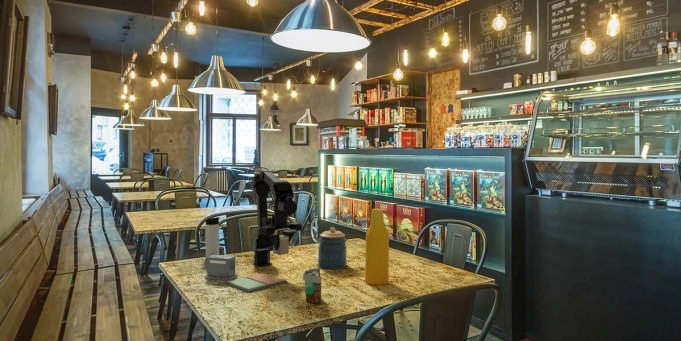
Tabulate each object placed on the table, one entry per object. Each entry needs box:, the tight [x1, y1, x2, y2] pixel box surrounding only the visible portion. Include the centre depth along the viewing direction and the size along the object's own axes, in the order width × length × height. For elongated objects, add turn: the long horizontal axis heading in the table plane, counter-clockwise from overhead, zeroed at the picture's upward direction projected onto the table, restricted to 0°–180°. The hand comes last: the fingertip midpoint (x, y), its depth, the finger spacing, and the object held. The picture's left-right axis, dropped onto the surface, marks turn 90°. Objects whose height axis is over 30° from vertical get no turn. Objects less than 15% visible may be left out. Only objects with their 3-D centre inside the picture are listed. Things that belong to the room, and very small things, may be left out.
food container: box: [302, 267, 322, 306], centre depth 161 cm, size 12×6×10 cm, turn 5°
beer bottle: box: [364, 208, 390, 286], centre depth 184 cm, size 9×9×29 cm
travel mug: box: [205, 216, 220, 260], centre depth 223 cm, size 6×7×20 cm
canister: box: [317, 226, 348, 270], centre depth 210 cm, size 13×13×18 cm
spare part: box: [272, 234, 290, 256], centre depth 191 cm, size 5×5×7 cm
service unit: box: [204, 254, 239, 281], centre depth 190 cm, size 7×11×8 cm, turn 76°
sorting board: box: [224, 272, 288, 293], centre depth 182 cm, size 18×16×1 cm
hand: (280, 249), depth 191 cm, fingers closed on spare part, 4 cm apart
